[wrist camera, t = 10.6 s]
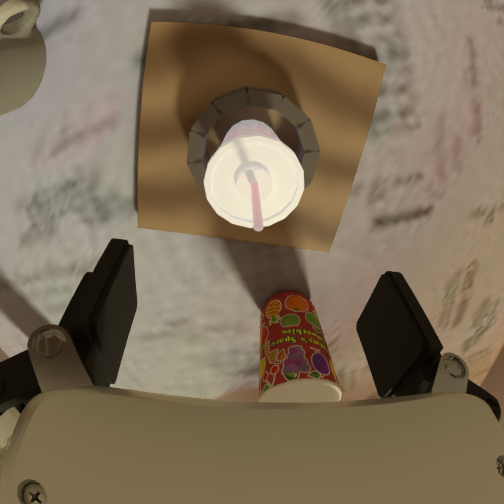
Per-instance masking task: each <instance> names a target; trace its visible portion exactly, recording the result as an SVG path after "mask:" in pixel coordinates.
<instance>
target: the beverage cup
mask: <svg viewBox="0 0 504 504" xmlns="http://www.w3.org/2000/svg"><path fill="white" fill-rule="evenodd" d="M204 186H205V192H206V197H207V200H208V201H209V203H210V204H211V206H212V207H213V209H214V210H215V212H216V213H217V214H218V215H220V216H221V217H223V218H224V219H226V220H227V221H229V222H230V223H232V224H235V225H239V226H244V227H248V228H254V230H255V231H258V232H259V231H262V230H263V228H264V227H265V226H270V225H272V224H274V223H276V222H278V221H280V220H282V219H285V218H286V217H287V216H288V215H289V214H290V213H291V212H292V211H293V210H294V209H295V207H296V206H297V205H298V203H299V201H300V198H301V196H302V193H303V191H304V171H303V169H302V167H301V165H300V163H299V161H298V159H297V157H296V155H295V153H294V152H293V150H292V149H290V148H289V147H288V146H287V145H285V144H284V143H283V142H282V141H280V139H279V138H278V136H277V135H276V134H275V133H274V131H273V130H272V129H271V128H270V127H269V126H268V125H266V124H265V123H264V122H261V121H257V120H254V119H252V120H243V121H241V122H239V123H237V124H235V125H233V126H232V128H231V129H230V130H229V131H228V132H227V134H226V136H225V138H224V140H223V142H222V144H221V146H220V147H219V148H218V150H217V151H216V152H215V153H214V155H213V156H212V157H211V159H210V161H209V162H208V166H207V170H206V174H205V178H204Z"/></svg>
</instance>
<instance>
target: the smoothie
mask: <svg viewBox="0 0 504 504" xmlns="http://www.w3.org/2000/svg"><path fill="white" fill-rule="evenodd" d="M341 397H342V391H341V389H340V387H339V383H338V380H337V376H336V373H335V370H334V367H333V363H332V360H331V357H330V354H329V351H328V347H327V344H326V341H325V338H324V335H323V332H322V329H321V326H320V323H319V319H318V316H317V313H316V310H315V307H314V305H313V304H312V302H311V301H309V300H308V299H307V298H306V297H305V296H304V295H302V294H301V293H297V292H290V291H286V292H282V293H278V294H276V295H274V296H272V297H271V298H270V299H269V300H268V301H267V303H266V304H265V306H264V308H263V310H262V311H261V326H260V375H259V402H270V403H312V402H339V400H340V399H341Z"/></svg>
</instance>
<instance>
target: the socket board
mask: <svg viewBox="0 0 504 504" xmlns="http://www.w3.org/2000/svg"><path fill="white" fill-rule="evenodd" d="M385 67H386V65H385V64H383V63H380V62H377V61H375V60H372V59H369V58H366V57H363V56H360V55H357V54H354V53H351V52H348V51H345V50H341V49H338V48H335V47H331V46H327V45H324V44H320V43H316V42H312V41H308V40H304V39H300V38H296V37H291V36H286V35H281V34H276V33H271V32H265V31H260V30H253V29H247V28H240V27H232V26H223V25H213V24H201V23H184V22H151V28H150V34H149V41H148V48H147V55H146V63H145V71H144V80H143V90H142V101H141V114H140V129H139V149H138V228H146V229H154V230H162V231H170V232H178V233H186V234H194V235H202V236H210V237H218V238H226V239H234V240H241V241H249V242H257V243H264V244H272V245H280V246H287V247H295V248H302V249H310V250H317V251H324V252H329V250H330V247H331V245H332V242H333V239H334V236H335V233H336V231H337V228H338V225H339V222H340V219H341V216H342V213H343V210H344V208H345V205H346V202H347V199H348V196H349V193H350V190H351V186H352V183H353V180H354V177H355V174H356V171H357V168H358V164H359V161H360V158H361V155H362V151H363V148H364V145H365V141H366V138H367V135H368V131H369V128H370V124H371V121H372V117H373V113H374V110H375V106H376V102H377V98H378V95H379V91H380V87H381V83H382V79H383V75H384V71H385ZM252 119H254V120H257V121H261V122H264V123H265V124H266V125H268V126H269V127H270V128H271V129H272V130H273V131H274V133H275V134H276V135H277V136H278V138H279V139H280V141H282V142H283V143H284V144H285V145H287V146H288V147H289V148H290V149H292V150H293V152H294V153H295V155H296V157H297V159H298V161H299V163H300V165H301V167H302V169H303V171H304V191H303V193H302V196H301V198H300V201H299V203H298V205H297V206H296V207H295V209H294V210H293V211H292V212H291V213H290V214H289V215H288V216H287V217H286V218H285V219H282V220H280V221H278V222H276V223H274V224H272V225H270V226H265V227H264V228H263V230H262V231H259V232H258V231H255V230H254V228H248V227H244V226H239V225H235V224H232V223H230V222H229V221H227V220H226V219H224V218H223V217H221V216H220V215H218V214H217V213H216V212H215V210H214V209H213V207H212V206H211V204H210V203H209V201H208V200H207V197H206V192H205V186H204V178H205V174H206V170H207V166H208V162H209V161H210V159H211V157H212V156H213V155H214V153H215V152H216V151H217V150H218V148H219V147H220V146H221V144H222V142H223V140H224V138H225V136H226V134H227V132H228V131H229V130H230V129H231V128H232V126H233V125H235V124H237V123H239V122H241V121H243V120H252Z"/></svg>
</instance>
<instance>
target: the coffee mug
mask: <svg viewBox="0 0 504 504" xmlns="http://www.w3.org/2000/svg"><path fill="white" fill-rule="evenodd" d="M21 12H24V13H23V14H22V15H21V17H19V18H18V19H17V20H16V21H14V22H12V23H6V24H4V23H5V22H6V20H7V19H9V18H10V17H11V16H13V15H15V14H17V13H21ZM39 14H40V6H39V4H38V3H37V1H35V0H7V1H6V2H4V3H3V4H2V5H1V6H0V116H1V115H3V114H6V113H8V112H10V111H13V110H15V109H18V108H20V107H22V106H23V105H24V104H26V103H27V102H28V101H29V100H30V99H31V98H32V97H33V95H34V94H35V92H36V91H37V89H38V87H39V85H40V83H41V80H42V78H43V74H44V70H45V64H46V49H45V44H44V40H43V38H42V36H41V34H40V33H39V31H38V30H37V29H36V28H35V27H33V26H34V24H35V22H36V20H37V18H38V16H39Z"/></svg>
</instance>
